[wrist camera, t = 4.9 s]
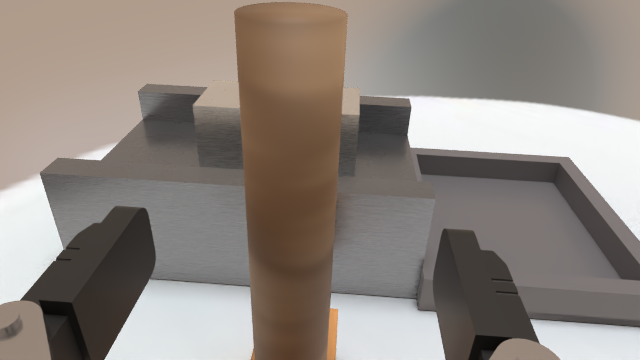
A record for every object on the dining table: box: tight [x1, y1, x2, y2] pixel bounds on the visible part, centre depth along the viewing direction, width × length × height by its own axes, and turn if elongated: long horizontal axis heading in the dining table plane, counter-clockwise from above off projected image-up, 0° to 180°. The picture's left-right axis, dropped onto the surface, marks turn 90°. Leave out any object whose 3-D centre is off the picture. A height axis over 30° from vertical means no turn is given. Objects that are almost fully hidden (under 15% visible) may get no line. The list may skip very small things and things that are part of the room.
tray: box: [410, 148, 640, 327], centre depth 28 cm, size 12×14×2 cm
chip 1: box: [338, 87, 360, 177], centre depth 26 cm, size 4×4×4 cm
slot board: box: [40, 84, 435, 299], centre depth 28 cm, size 18×12×6 cm
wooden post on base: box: [234, 2, 348, 360], centre depth 14 cm, size 3×6×15 cm, turn 176°
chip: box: [193, 80, 244, 170], centre depth 26 cm, size 4×4×4 cm
